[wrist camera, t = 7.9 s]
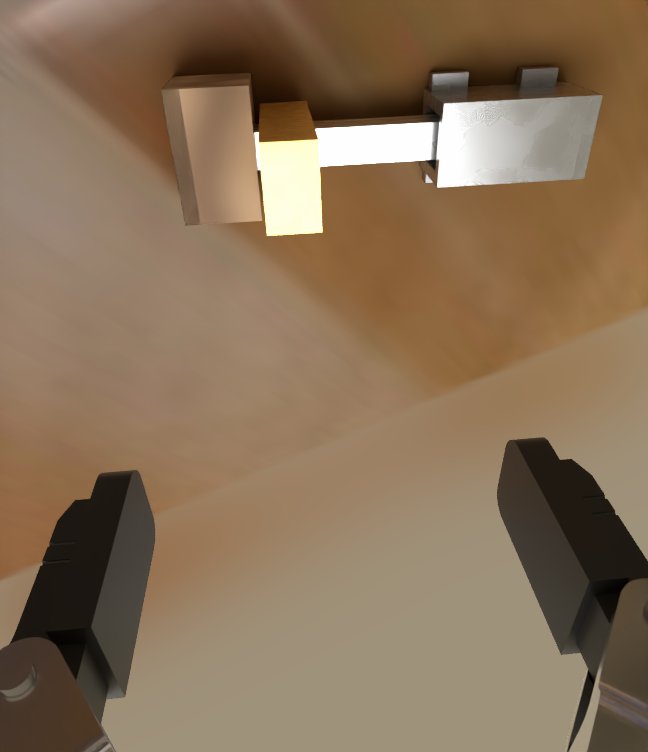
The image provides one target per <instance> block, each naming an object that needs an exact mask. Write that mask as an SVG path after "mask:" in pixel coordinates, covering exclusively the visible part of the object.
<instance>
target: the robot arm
mask: <svg viewBox="0 0 648 752" xmlns="http://www.w3.org/2000/svg"><path fill="white" fill-rule="evenodd" d="M497 500H498V506H499V511H500V514H501V517H502V519H503V521H504V524H505V526H506V528H507V531H508V533H509V535H510V538H511V540H512V542H513V545H514V547H515V549H516V552H517V554H518V556H519V559H520V561H521V563H522V565H523V568H524V570H525V572H526V575H527V577H528V579H529V582H530V584H531V586H532V589H533V591H534V593H535V595H536V598H537V600H538V602H539V605H540V607H541V609H542V612H543V614H544V616H545V619H546V621H547V623H548V625H549V628H550V630H551V632H552V635H553V637H554V639H555V642H556V644H557V646H558V649H559V651H560V653H561V655H563V654H573V653H581V654H582V656H583V659H584V661H585V663H586V665H587V669H586V672H585V675H584V678H583V682H582V686H581V689H580V693H579V697H578V701H577V704H576V708H575V712H574V716H573V720H572V723H571V727H570V731H569V735H568V738H567V742H566V746H565V750H564V752H648V561H647V559H646V558H645V556H644V555H643V553H642V552H641V550H640V549H639V547H638V546H637V544H636V543H635V541H634V539H633V538H632V536H631V535H630V533H629V532H628V531H627V529H626V527H625V526H624V524H623V522H622V521H621V519H620V518H619V516H618V515H616V514H615V510H614V509H613V507H612V505H611V504H610V502H609V501H608V500H607V499H605V495H604V493H603V492H602V490H601V488H600V487H599V486H598V484H597V483H596V481H595V479H594V478H593V476H592V475H591V474H590V473H588V472H587V471H586V470H585V469H583V468H582V467H581V466H580V465H578V464H577V463H576V462H575V461H573V460H572V459H567V460H560V459H559V458H558V456H557V455H556V453H555V451H554V449H553V448H552V446H551V445H550V443H549V441H548V440H547V439H545V438H530V439H518V440H509V441H508V443H507V445H506V448H505V453H504V458H503V463H502V468H501V474H500V479H499V484H498V489H497ZM49 544H50V546H49V547H47V550H46V553H45V555H44V558H43V561H42V562H43V565H42V566H40V569H39V571H38V574H37V577H36V579H35V582H34V585H33V587H32V590H31V592H30V595H29V598H28V600H27V603H26V606H25V608H24V611H23V614H22V616H21V619H20V622H19V624H18V627H17V629H16V632H15V634H14V637H13V639H12V641H11V642H10V644H9V645H7V646H5V647H4V648H2V649H1V650H0V752H116V751H115V749H114V747H113V745H112V743H111V742H110V740H109V738H108V736H107V734H106V733H105V731H104V729H103V727H102V725H101V721H102V716H103V711H104V706H105V702H106V699H113V698H122V697H125V695H126V689H127V684H128V679H129V674H130V669H131V663H132V658H133V653H134V648H135V643H136V638H137V633H138V627H139V622H140V617H141V612H142V606H143V602H144V596H145V591H146V586H147V581H148V576H149V571H150V566H151V560H152V555H153V550H154V544H155V524H154V518H153V515H152V511H151V508H150V505H149V502H148V498H147V495H146V492H145V489H144V485H143V482H142V479H141V476H140V474H139V472H138V471H137V470H132V471H120V472H108V473H101V474H100V475H99V476H98V478H97V480H96V483H95V486H94V489H93V492H92V495H91V498H90V499H84V500H75V501H74V502H73V503H72V505H71V506H70V507H69V508H68V509H67V510H66V511H65V513H64V514H63V515H62V516H61V517H60V518H59V520H58V521H57V524H56V526H55V529H54V532H53V534H52V537H51V540H50V542H49Z"/></svg>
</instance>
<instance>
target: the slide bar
mask: <svg viewBox="0 0 648 752" xmlns="http://www.w3.org/2000/svg"><path fill="white" fill-rule="evenodd" d="M439 119H440V115H438V114H434V115H416V116H398V117H379V118H361V119H343V120H325V121H313V120H312V117H311V114H310V111H309V108H308V105H307V102H306V101H295V102H276V103H260V114H259V124H253V131H254V141H255V151H256V161H257V170H261V176H262V186H263V197H264V207H265V217H266V228H267V236H270V235H286V234H301V233H317V232H322V214H321V187H320V166H334V165H351V164H368V163H385V162H402V161H419V160H436V158H437V145H438V132H439Z"/></svg>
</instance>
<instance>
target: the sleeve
mask: <svg viewBox="0 0 648 752" xmlns="http://www.w3.org/2000/svg"><path fill="white" fill-rule="evenodd" d="M558 70H559V68H558V67H555V66H537V67H518V68H517V75H516V82H515V84H507V85H488V86H469V87H468V78H469V72H467V71H465V70H459V71H440V72H429V83H428V89H424V93H423V110H422V115H434V114H438V115H440V119H439V132H438V145H437V158H436V160H419V166H420V167H421V168H422V169H423V176H422V179H423V180H424V182H425V183H434V184H435V186H436V187H437V188H438V187H454V186H470V185H487V184H503V183H519V182H536V181H552V180H568V179H584V176H585V172H586V167H587V163H588V158H589V154H590V149H591V145H592V141H593V136H594V132H595V127H596V123H597V118H598V114H599V110H600V105H601V101H602V96H603V95H601V94H599V93H596V92H593V91H590V90H588V89H585V88H582V87H579V86H577V85H574V84H571V83H568V82H566V81H564V82H556V81H557V75H558Z"/></svg>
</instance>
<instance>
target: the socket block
mask: <svg viewBox="0 0 648 752" xmlns="http://www.w3.org/2000/svg"><path fill="white" fill-rule="evenodd" d="M161 93H162V99H163V105H164V110H165V116H166V121H167V127H168V132H169V138H170V143H171V149H172V154H173V160H174V165H175V171H176V177H177V182H178V188H179V193H180V199H181V204H182V210H183V215H184V221H185V225H201V224H216V223H232V222H248V221H262V186H261V176H260V170H257V161H256V151H255V141H254V131H253V124H255V114H254V104H253V93H252V83H251V73H232V74H212V75H193V76H173V77H172V78H171V79H170V80H169V81H168V83H167V84H166V85H165V86H164V87H163V88H162V89H161Z"/></svg>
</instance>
